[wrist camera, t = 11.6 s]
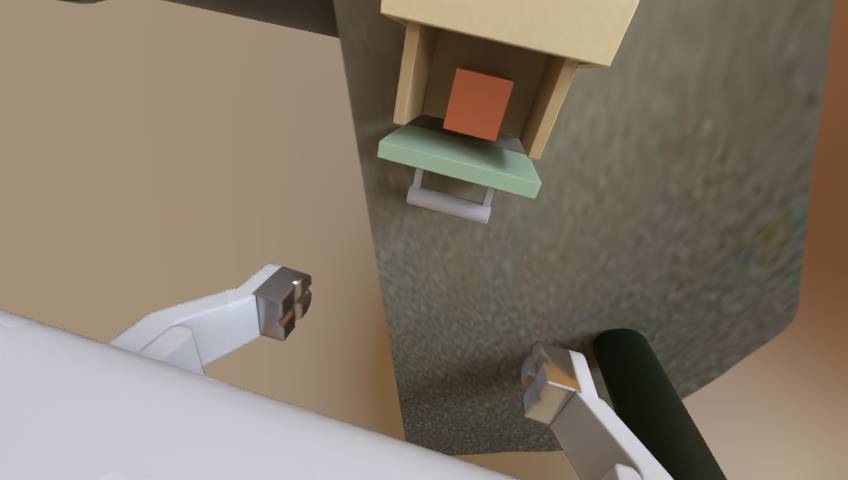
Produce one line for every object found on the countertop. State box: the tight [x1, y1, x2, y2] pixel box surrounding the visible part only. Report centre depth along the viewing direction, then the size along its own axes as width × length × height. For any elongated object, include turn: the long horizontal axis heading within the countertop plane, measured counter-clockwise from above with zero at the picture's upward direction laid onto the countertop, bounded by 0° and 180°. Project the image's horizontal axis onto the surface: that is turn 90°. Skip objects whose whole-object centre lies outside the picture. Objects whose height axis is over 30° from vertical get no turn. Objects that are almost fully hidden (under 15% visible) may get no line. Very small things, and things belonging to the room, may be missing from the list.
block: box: [443, 68, 515, 142], centre depth 23 cm, size 4×4×4 cm
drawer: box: [377, 21, 579, 224], centre depth 22 cm, size 18×11×8 cm, turn 168°
